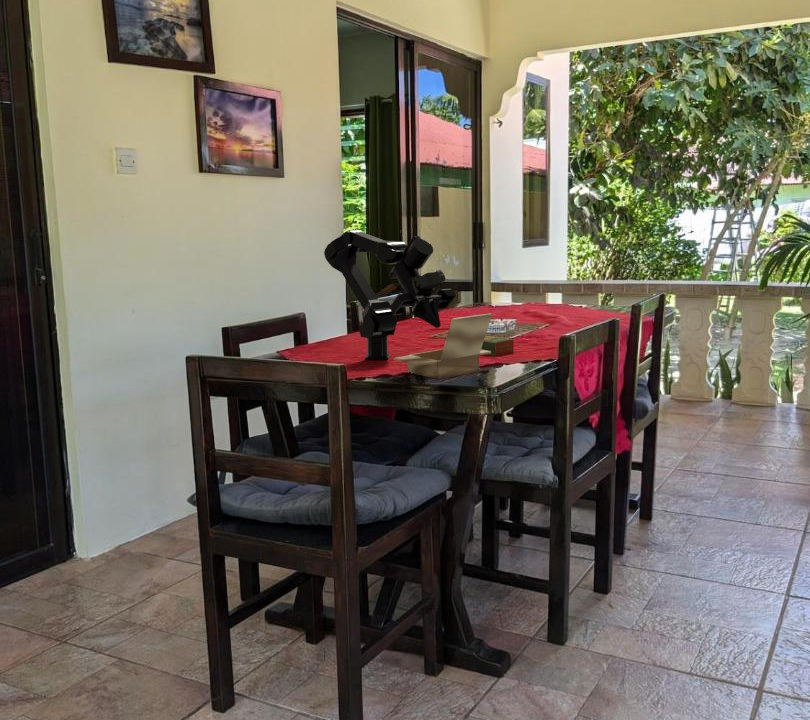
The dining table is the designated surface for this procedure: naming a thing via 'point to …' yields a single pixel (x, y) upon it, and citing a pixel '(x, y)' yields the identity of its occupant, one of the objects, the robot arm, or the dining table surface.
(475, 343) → the flap
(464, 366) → the open box
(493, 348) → the carton
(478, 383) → the dining table surface
